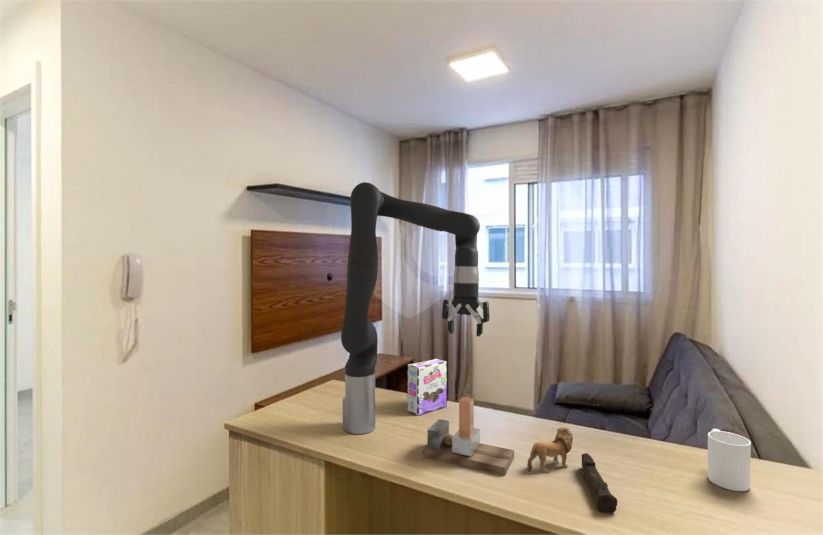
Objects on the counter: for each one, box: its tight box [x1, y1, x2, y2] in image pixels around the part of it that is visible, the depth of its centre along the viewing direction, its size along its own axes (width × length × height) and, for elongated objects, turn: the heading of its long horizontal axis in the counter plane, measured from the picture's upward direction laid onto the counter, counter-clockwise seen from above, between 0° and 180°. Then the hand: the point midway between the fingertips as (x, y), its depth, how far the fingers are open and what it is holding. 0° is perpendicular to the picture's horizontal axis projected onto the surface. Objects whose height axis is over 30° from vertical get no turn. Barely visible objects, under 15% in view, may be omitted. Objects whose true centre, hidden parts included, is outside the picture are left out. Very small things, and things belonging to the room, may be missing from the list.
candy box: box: [406, 358, 448, 416], centre depth 143 cm, size 14×6×16 cm, turn 129°
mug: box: [707, 428, 752, 492], centre depth 97 cm, size 12×8×10 cm, turn 164°
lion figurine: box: [526, 426, 574, 474], centre depth 103 cm, size 15×5×9 cm, turn 119°
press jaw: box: [452, 396, 481, 457], centre depth 108 cm, size 5×8×13 cm, turn 153°
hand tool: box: [581, 452, 618, 514], centre depth 93 cm, size 19×4×5 cm, turn 168°
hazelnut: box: [444, 433, 454, 446], centre depth 110 cm, size 3×3×3 cm
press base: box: [422, 418, 515, 477], centre depth 108 cm, size 22×10×7 cm, turn 63°
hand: (465, 334), depth 124 cm, fingers open, 8 cm apart
